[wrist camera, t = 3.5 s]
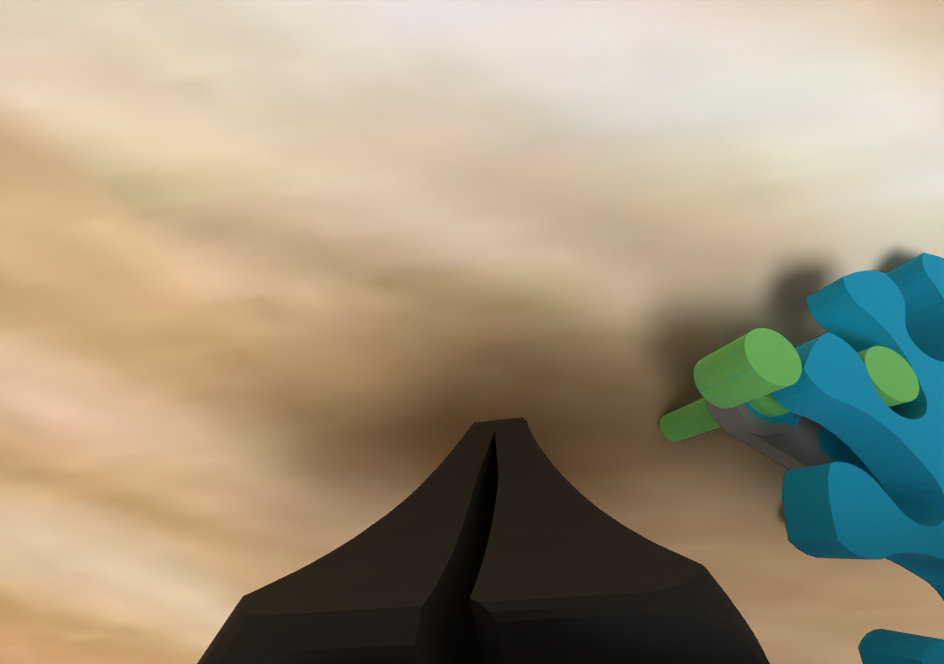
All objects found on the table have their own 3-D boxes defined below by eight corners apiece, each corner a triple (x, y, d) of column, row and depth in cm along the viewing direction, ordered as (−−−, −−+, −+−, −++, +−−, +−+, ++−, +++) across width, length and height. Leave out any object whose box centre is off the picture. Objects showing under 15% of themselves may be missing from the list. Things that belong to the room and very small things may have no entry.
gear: (1327, 408, 9) (1818, 1338, 4) (966, 460, 14) (988, 881, 9) (816, 133, 9) (708, 635, 5) (657, 281, 14) (531, 586, 10)
